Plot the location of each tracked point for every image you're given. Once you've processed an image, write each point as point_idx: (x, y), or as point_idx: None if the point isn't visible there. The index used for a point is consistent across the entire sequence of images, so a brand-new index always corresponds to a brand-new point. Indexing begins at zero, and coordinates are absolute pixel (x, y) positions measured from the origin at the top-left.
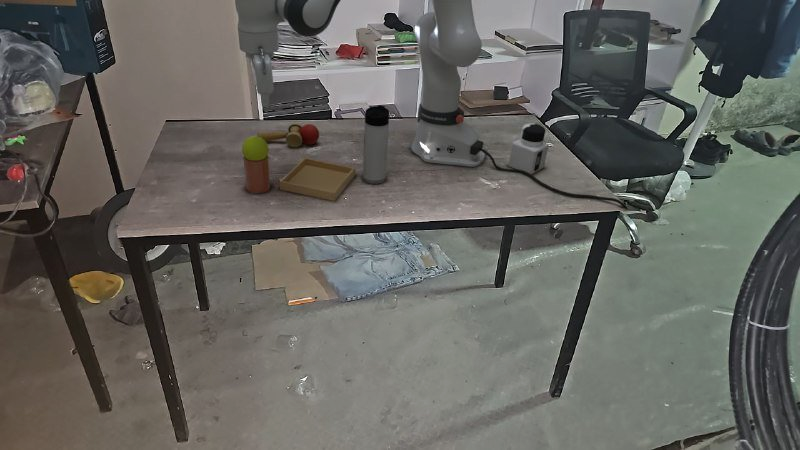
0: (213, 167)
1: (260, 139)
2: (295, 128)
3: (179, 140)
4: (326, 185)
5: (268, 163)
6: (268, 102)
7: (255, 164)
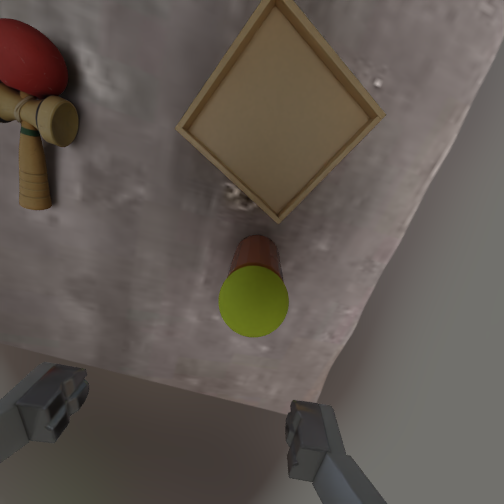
0: (158, 306)
1: (262, 306)
2: (4, 101)
3: (43, 334)
4: (308, 113)
5: (262, 255)
6: (337, 435)
7: None
